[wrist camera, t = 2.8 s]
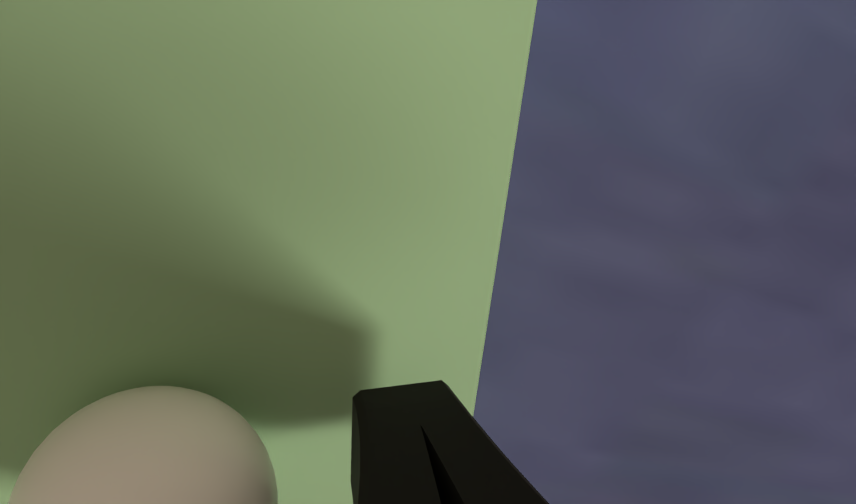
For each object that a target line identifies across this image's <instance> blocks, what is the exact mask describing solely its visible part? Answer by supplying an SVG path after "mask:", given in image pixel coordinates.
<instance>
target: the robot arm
mask: <svg viewBox="0 0 856 504" xmlns="http://www.w3.org/2000/svg"><path fill="white" fill-rule="evenodd" d="M351 489H352V497H353V504H549V503H548V502H547V501H546V500H545V499H544V498H543V497H542V496H541V494H540V493H539V492H538V491H537V490H536V489H535V488H534V487H533V486H532V485H531V484H530V482H529V481H528V480H527V479H526V478H525V477H524V476H523V475H522V474H521V473H520V472H519V470H518V469H517V468H516V467H515V466H514V465H513V464H512V463H511V462H510V460H509V459H508V458H507V457H506V456H505V455H504V454H503V452H502V451H501V450H500V449H499V448H498V447H497V445H496V444H495V443H494V442H493V441H492V439H491V438H490V437H489V436H488V435H487V433H486V432H485V431H484V430H483V429H482V427H481V426H480V425H479V424H478V423H477V421H476V420H475V419H474V418H473V416H472V415H471V414H470V413H469V411H468V410H467V409H466V408H465V406H464V405H463V404H462V403H461V401H460V400H459V399H458V398H457V396H456V395H455V394H454V392H453V391H452V390H451V389H450V387H449V386H448V385H447V384H446V383H445V382H443V381H442V380H438V381H430V382H422V383H414V384H406V385H398V386H390V387H382V388H374V389H365V390H360V391H359V392H358V393H357V394H355V395H354V396H353V397H352V438H351Z"/></svg>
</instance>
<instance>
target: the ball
mask: <svg viewBox="0 0 856 504" xmlns="http://www.w3.org/2000/svg"><path fill="white" fill-rule="evenodd" d="M8 504H278V490H277V484H276V478H275V472H274V468H273V465H272V462H271V460H270V457H269V454H268V452H267V449H266V447H265V446H264V444H263V442H262V441H261V439H260V437H259V436H258V434H257V433H256V431H255V430H254V429H253V428H252V426H251V425H250V424H249V423H248V422H247V421H246V420H245V419H244V418H243V416H241V415H240V414H239V413H238V412H237V411H235V410H234V409H233V408H231V407H230V406H228V405H227V404H225V403H224V402H222V401H220V400H219V399H217V398H215V397H212V396H210V395H208V394H205V393H202V392H199V391H196V390H192V389H187V388H182V387H175V386H146V387H140V388H134V389H128V390H125V391H121V392H117V393H114V394H111V395H109V396H106V397H103V398H101V399H99V400H97V401H95V402H93V403H91V404H89V405H87V406H85V407H83V408H82V409H80V410H79V411H77V412H76V413H74V414H72V415H71V416H70V417H69V418H67V419H66V420H65V421H64V422H62V423H61V424H60V425H59V426H58V427H56V428H55V429H54V430H53V431H52V432H51V433H50V434H49V435H48V436H47V437H46V438H45V440H44V441H43V442H42V443H41V444H40V445H39V446H38V447H37V449H36V450H35V451H34V452H33V454H32V455H31V457H30V458H29V460H28V462H27V463H26V465H25V466H24V468H23V470H22V471H21V473H20V474H19V476H18V479H17V481H16V484H15V486H14V488H13V491H12V493H11V496H10V498H9V501H8Z"/></svg>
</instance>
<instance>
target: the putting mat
mask: <svg viewBox="0 0 856 504" xmlns="http://www.w3.org/2000/svg"><path fill="white" fill-rule="evenodd" d="M536 4H537V0H0V504H8V501H9V498H10V496H11V493H12V491H13V488H14V486H15V484H16V481H17V479H18V476H19V474H20V473H21V471H22V470H23V468H24V466H25V465H26V463H27V462H28V460H29V458H30V457H31V455H32V454H33V452H34V451H35V450H36V449H37V447H38V446H39V445H40V444H41V443H42V442H43V441H44V440H45V438H46V437H47V436H48V435H49V434H50V433H51V432H52V431H53V430H54V429H55V428H56V427H58V426H59V425H60V424H61V423H62V422H64V421H65V420H66V419H67V418H69V417H70V416H71V415H72V414H74V413H76V412H77V411H79V410H80V409H82V408H83V407H85V406H87V405H89V404H91V403H93V402H95V401H97V400H99V399H101V398H103V397H106V396H109V395H111V394H114V393H117V392H121V391H125V390H128V389H134V388H140V387H146V386H175V387H182V388H187V389H192V390H196V391H199V392H202V393H205V394H208V395H210V396H212V397H215V398H217V399H219V400H220V401H222V402H224V403H225V404H227V405H228V406H230V407H231V408H233V409H234V410H235V411H237V412H238V413H239V414H240V415H241V416H243V418H244V419H245V420H246V421H247V422H248V423H249V424H250V425H251V426H252V428H253V429H254V430H255V431H256V433H257V434H258V436H259V437H260V439H261V441H262V442H263V444H264V446H265V447H266V449H267V452H268V454H269V457H270V460H271V462H272V465H273V468H274V472H275V478H276V484H277V490H278V504H353V497H352V489H351V438H352V397H353V396H354V395H355V394H357V393H358V392H359V391H360V390H365V389H374V388H382V387H390V386H398V385H406V384H414V383H422V382H430V381H438V380H442V381H443V382H445V383H446V384H447V385H448V386H449V387H450V389H451V390H452V391H453V392H454V394H455V395H456V396H457V398H458V399H459V400H460V401H461V403H462V404H463V405H464V406H465V408H466V409H467V410H468V411H469V413H470V414H471V415H472V416H473V413H474V407H475V400H476V394H477V387H478V381H479V374H480V368H481V361H482V355H483V348H484V342H485V335H486V329H487V322H488V316H489V309H490V303H491V296H492V290H493V283H494V277H495V271H496V264H497V258H498V251H499V245H500V238H501V232H502V225H503V219H504V212H505V206H506V199H507V193H508V186H509V180H510V173H511V167H512V160H513V154H514V147H515V141H516V134H517V128H518V121H519V115H520V108H521V102H522V95H523V89H524V82H525V76H526V69H527V63H528V56H529V50H530V43H531V37H532V30H533V24H534V17H535V11H536Z"/></svg>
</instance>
